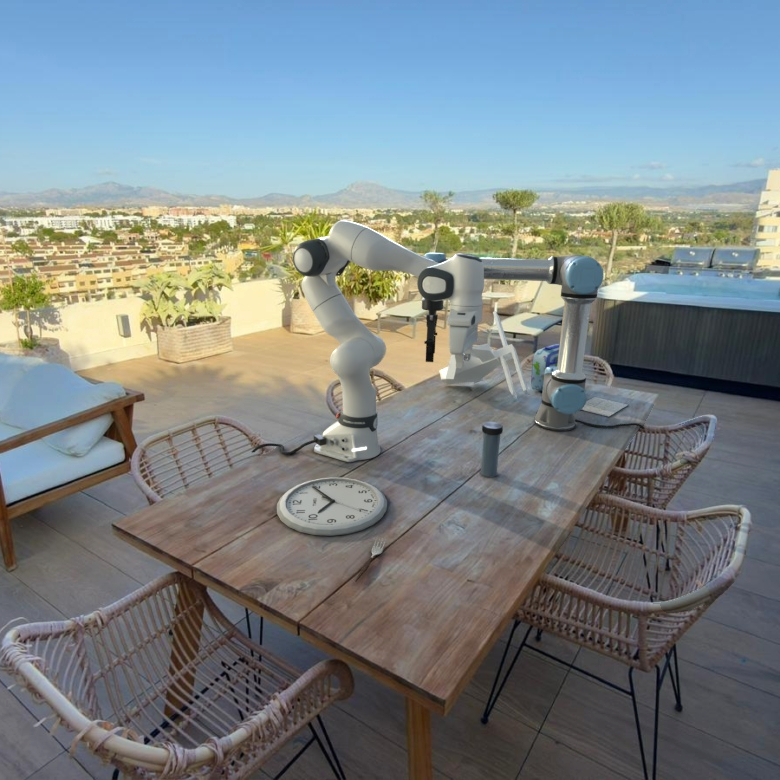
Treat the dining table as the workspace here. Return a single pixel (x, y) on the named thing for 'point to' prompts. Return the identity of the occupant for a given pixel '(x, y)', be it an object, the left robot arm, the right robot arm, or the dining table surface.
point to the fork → (375, 551)
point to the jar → (490, 455)
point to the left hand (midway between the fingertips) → (463, 363)
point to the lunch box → (543, 364)
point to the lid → (492, 428)
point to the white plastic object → (485, 364)
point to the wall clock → (331, 506)
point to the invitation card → (603, 406)
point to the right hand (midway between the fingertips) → (430, 357)
